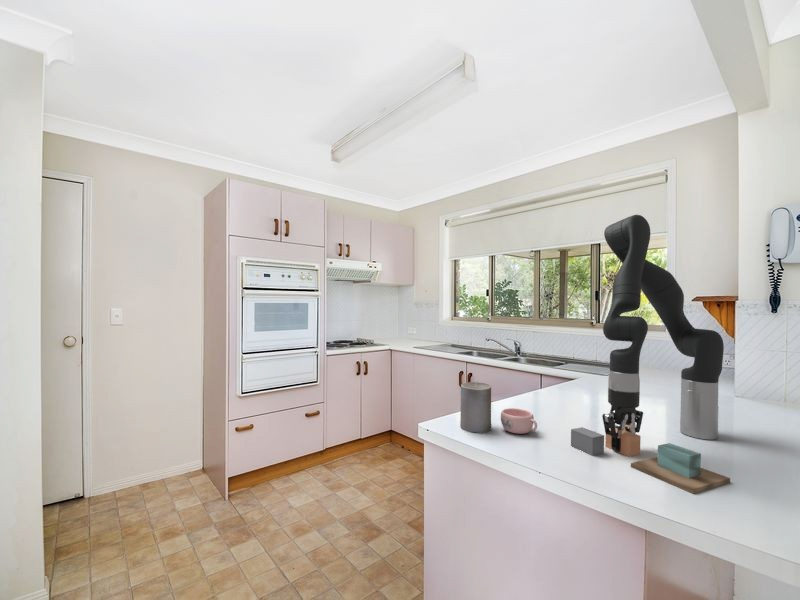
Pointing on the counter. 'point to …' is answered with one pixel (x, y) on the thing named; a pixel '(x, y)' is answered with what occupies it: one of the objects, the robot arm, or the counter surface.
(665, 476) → the plate
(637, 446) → the terracotta brick
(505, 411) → the mug
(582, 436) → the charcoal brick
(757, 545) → the counter surface
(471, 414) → the pillar candle
